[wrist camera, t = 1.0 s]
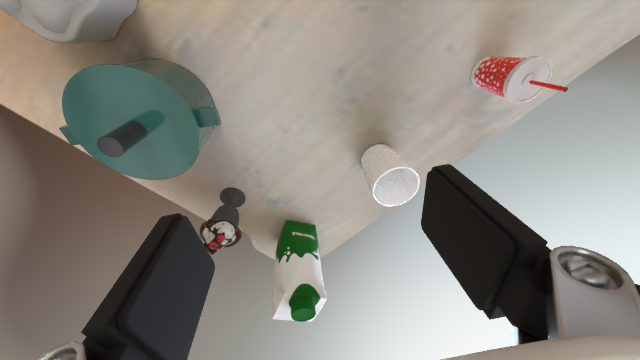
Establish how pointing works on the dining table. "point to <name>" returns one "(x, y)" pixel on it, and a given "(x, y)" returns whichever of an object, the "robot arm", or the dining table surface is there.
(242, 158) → the dining table surface
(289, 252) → the milk carton
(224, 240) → the sundae
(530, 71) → the beverage cup
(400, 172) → the white cup
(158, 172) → the lid
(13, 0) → the lumpy-topped squat cylinder
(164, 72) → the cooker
